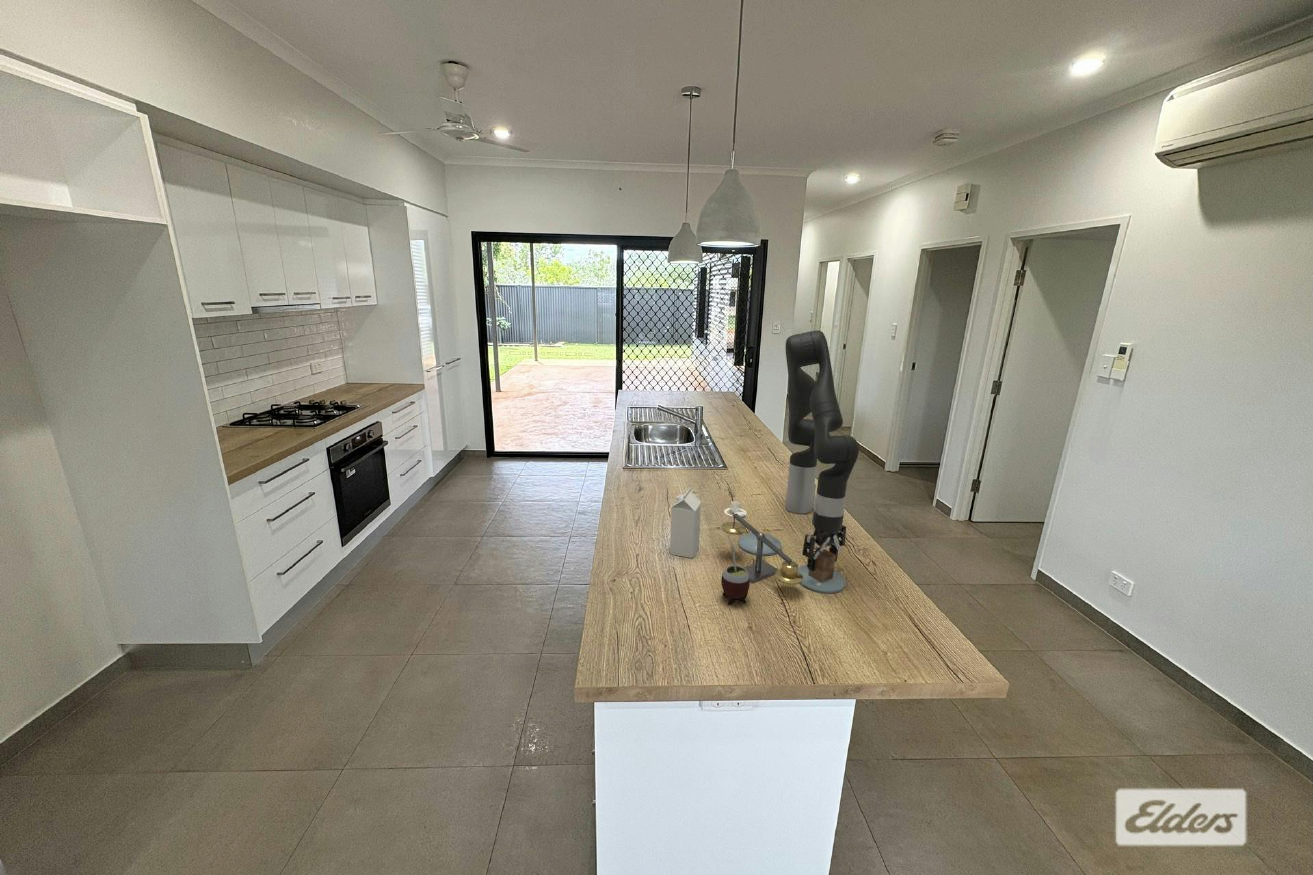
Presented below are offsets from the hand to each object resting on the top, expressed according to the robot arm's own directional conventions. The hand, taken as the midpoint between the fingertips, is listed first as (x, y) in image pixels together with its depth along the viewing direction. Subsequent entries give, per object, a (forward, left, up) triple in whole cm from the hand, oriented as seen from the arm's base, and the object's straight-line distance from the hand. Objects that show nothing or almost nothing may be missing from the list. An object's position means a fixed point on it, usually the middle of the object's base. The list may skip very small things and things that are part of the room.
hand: (821, 565), depth 137 cm
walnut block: (0, 0, -3) cm, 3 cm away
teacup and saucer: (-7, -45, -5) cm, 46 cm away
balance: (+12, -11, -4) cm, 17 cm away
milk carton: (+22, -32, -5) cm, 39 cm away
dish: (0, 0, -4) cm, 4 cm away
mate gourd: (+26, -6, -5) cm, 27 cm away
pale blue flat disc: (0, -23, -4) cm, 23 cm away
